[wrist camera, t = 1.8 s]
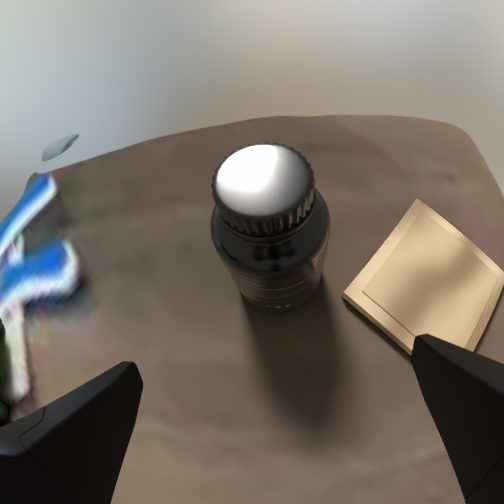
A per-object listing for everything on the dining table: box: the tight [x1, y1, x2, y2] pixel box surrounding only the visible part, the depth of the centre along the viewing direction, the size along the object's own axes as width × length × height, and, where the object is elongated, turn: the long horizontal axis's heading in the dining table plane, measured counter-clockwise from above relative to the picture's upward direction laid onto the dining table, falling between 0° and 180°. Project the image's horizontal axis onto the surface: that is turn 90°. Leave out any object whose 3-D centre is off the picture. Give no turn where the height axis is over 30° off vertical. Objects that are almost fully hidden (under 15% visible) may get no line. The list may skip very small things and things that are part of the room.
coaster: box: [342, 199, 504, 355], centre depth 20 cm, size 12×12×1 cm
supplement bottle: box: [210, 142, 330, 312], centre depth 18 cm, size 7×7×12 cm
